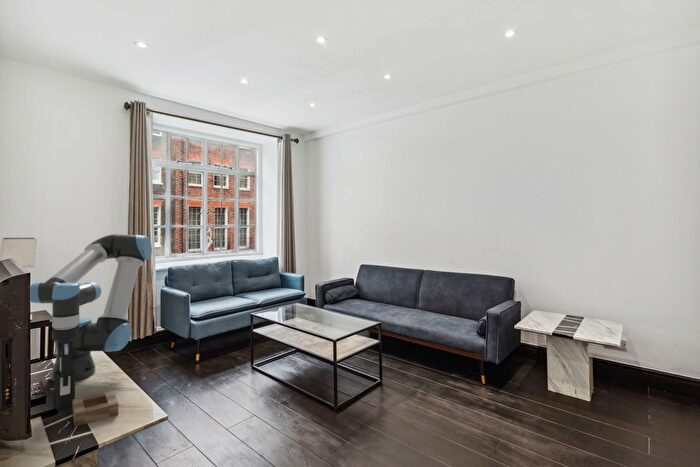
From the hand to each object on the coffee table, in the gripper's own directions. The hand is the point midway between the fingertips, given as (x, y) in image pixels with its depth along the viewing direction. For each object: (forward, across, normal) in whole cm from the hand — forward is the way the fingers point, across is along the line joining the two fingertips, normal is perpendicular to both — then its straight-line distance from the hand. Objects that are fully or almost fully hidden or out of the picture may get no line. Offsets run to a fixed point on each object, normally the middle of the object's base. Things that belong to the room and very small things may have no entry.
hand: (64, 390), depth 126 cm
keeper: (+6, +11, +8) cm, 15 cm away
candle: (+6, 0, 0) cm, 6 cm away
